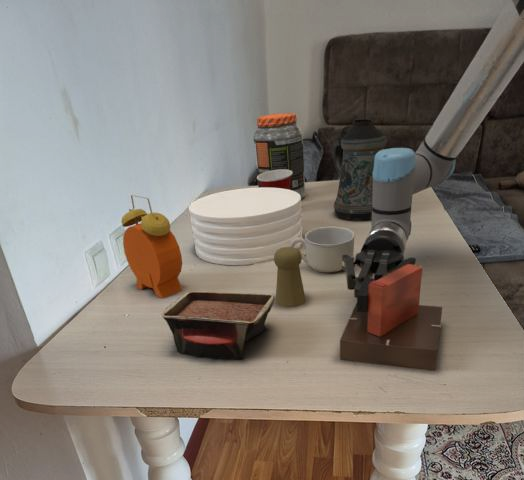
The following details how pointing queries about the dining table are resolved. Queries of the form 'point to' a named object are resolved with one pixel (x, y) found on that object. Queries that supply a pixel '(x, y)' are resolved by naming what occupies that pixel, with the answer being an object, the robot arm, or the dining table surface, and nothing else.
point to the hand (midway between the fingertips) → (362, 303)
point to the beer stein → (356, 169)
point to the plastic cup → (276, 179)
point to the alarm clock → (152, 251)
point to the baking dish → (217, 322)
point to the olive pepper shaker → (289, 277)
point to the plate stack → (245, 224)
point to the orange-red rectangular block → (393, 299)
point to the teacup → (326, 247)
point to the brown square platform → (394, 341)
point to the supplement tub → (280, 148)
